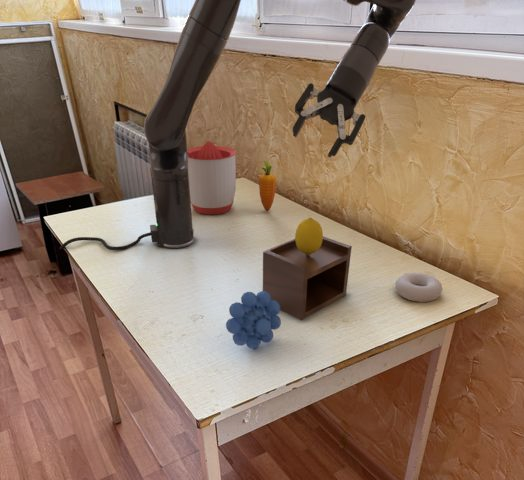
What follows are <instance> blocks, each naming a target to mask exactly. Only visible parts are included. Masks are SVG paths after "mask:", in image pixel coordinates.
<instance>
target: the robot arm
mask: <svg viewBox="0 0 524 480" xmlns="http://www.w3.org/2000/svg"><path fill="white" fill-rule="evenodd" d="M342 1H343V2H345V3H347V4H348V5H351V6H353V7H358V6H360V5H361V4H363V3H369V4H372V7H371V9H370V11H369V13H368V15H367V17H366V18H365V20H364V23H363V25H362V26H361V28H360V29H359V30H358V32H357V33H356V35H355V36H354V38H353V39H352V42H351V44H350V45H349V47H348V48H347V50H346V51H345V52H344V54H343V55H342V57H341V58H340V60H339V62H338V64H337V66H336V67H335V69H334V71H333V73H332V74H331V76H330V77H329V78H328V79H329V80H328V81H327V83H326V84H325V86H324V88H323V89H322V90H318V88H317V89H316V88H315V85H314V84H313V83H312V82H310V83H308V85H307V86H306V88H305V89H304V91H303V92H302V93H301V95H300V97H299V99H298V100H297V101H296V103H295V105H294V113H295V114H296V115H297V116H298V118H297V119H296V121H295V123H294V125H292V136H293V137H294V138H297V137H298V135H299V134H300V131H301V130H302V128H303V127H304V125H305V123H306V121H307V120H309V119H313V118H316V117H318V116H319V118H320V119H321V120H322V121H326V122H327V123H328V124H329V125H331V126H336V132H337V138H336V140H335V141H334V143H333V145H332V146H331V148H330V150H329V152H328V154H327V157H328V158H329V159H330V158H332V157H335V156H336V155H337V154H338V152H339V150H340V148H341V147H342V146H343V145H344V144H346V145H348V146H352V145H353V144H354V142H355V140H356V138H357V136H358V134H359V132H360V130H361V128H362V127H363V125H364V122H365V120H366V114H365V113H364V114H363V113H361V114H359V113H357V112H356V111H355V108H356V107H357V105H358V103H359V102H360V99H362V96H363V95H364V93H365V91H366V89H367V88H368V87H369V85H370V84H371V81H372V79H373V78H374V75H375V73H376V70H377V68H378V66H379V64H380V63H381V61H382V60H383V57H384V56H385V54H386V52H387V50H388V49H389V46H390V42H391V40H392V38H393V37H394V35H395V34H396V32H397V31H398V30H399V28H400V26H401V24H402V23H403V22H404V20H405V19H406V18H407V17H408V15H409V14H410V12H411V11H412V9H413V8H414V6H415V3H416V2H417V0H342ZM241 2H242V0H194V3H193V5H192V7H191V9H190V11H189V13H188V15H187V19H186V20H185V23H184V25H183V28H182V30H181V32H180V35H179V38H178V41H177V44H176V47H175V50H174V53H173V57H172V60H171V63H170V67H169V71H168V74H167V78H166V80H165V82H164V85H163V87H162V90H161V91H160V93H159V94H158V97H157V99H156V101H155V103H154V104H153V106H152V107H151V108H150V109H149V111H148V112H147V114H146V116H145V119H144V122H143V133H144V136H145V139H146V140H147V143H148V150H149V172H150V179H151V185H152V186H151V187H152V194H153V196H152V197H153V203H154V213H155V221H156V223H155V224H150V225H149V229H150V231H149V232H147V233H142V234H141V235H139V236H138V237H137V238H136V240H134V241H133V242H131V243H129V244H126V245H121V246H112V245H109V244H107V242H106V241H105V239H103V238H101V237H92V236H78V237H73V238H70V239H68V240H67V241H65V242H63V243H62V244H61V246H60V247H59V250H63V249H65V248H66V247H67V246H68V245H71V244H72V243H74V242H75V243H76V242H80V241H92V242H100V243H102V245H103V247H105V249H108V250H112V251H122V250H126V249H129V248H131V247H134V246H136V245H138V244H139V243H140V242H141V240H142V239H145V238H146V237H147V238H148V237H150V238H151V243H158V245H159V248H168V249H183V248H186V247H188V246H189V247H190V246H191V245H193V243H194V242H195V237H194V227H193V226H194V225H193V214H192V204H191V199H190V186H189V174H188V154H187V149H188V142H187V141H188V140H187V126H188V122H189V120H190V116H191V114H192V111H193V108H194V106H195V104H196V102H197V100H198V98H199V96H200V93H202V90H203V88H204V87H205V85H206V84H207V82H208V81H209V79H210V77H211V75H212V73H213V71H214V70H215V68H216V67H217V64H218V62H219V60H220V59H221V56H222V54H223V52H224V50H225V48H226V46H227V43H228V41H229V39H230V37H231V34H232V31H233V28H234V25H235V22H236V20H237V15H238V12H239V9H240V5H241ZM314 98H316V102H317V103H314V104H312V105H311V106H310V107H308V108H305V109H304V107H305V106H306V105H307V102H308V101H309V100H313V99H314ZM350 119H352V120H353V121H352V125H353V126H354V127H353V129H352V131H351V133H350V135H348V134H346V121H349V120H350Z"/></svg>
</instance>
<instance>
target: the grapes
mask: <svg viewBox="0 0 524 480" xmlns="http://www.w3.org/2000/svg"><path fill="white" fill-rule="evenodd" d="M240 301H241V302H237V301H235V302H234V303H232V304H231V305H230V306H229V308H228V310H229V311H228V313H229V315H230V316H231V318H228V319H227V321H226V323H225V328H226V330H227V332H228V333H230V334H232V340H233V342H234V344H235V345H237V346H240V347H241V346H245V345H246V346H247V347H248V348H250V349H252V350H253V349H258V348H259V347H260V345H261V343H269V342H272V341H273V339H274V332H273V331H276V330H278V329H279V328H281V325H282V319H281V317H280V316H278V315H279V314H280V312H281V310H280V305H279V303H278V302H277V301H274V300H271V296H270V294H269V293H268V292H266V291H263V290H262V291H259V292H257V294H256V293H254V292H252V291H246V292H244V293H243V294H242V295H241V297H240Z"/></svg>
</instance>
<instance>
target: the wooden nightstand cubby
mask: <svg viewBox="0 0 524 480" xmlns="http://www.w3.org/2000/svg"><path fill="white" fill-rule="evenodd" d="M351 255H352V245H350V244H346V243H344V242H342V241H338V240H335V239H332V238H329V237H326V236H324V235H323V240H322V244H321V246H320V248H319V249H318V250H317V251H316V252H314V253H311V254H310V255H309V256H307V255H306V254H305V253H303V252H301V251H300V250H299V249H298V248H297V245H296V241H295V238H293V239H290V240H289V241H286V242H283V243H281V244H278V245H275V246H273V247H270V248H269V249H265V250H264V251H262V291H266V292H268V293H269V294H270V296H271V300H274V301H277V302H278V303H279V305H280V312H283V313H285V314H287V315H289V316H291V317H294V318H295V319H298V320H300V321H303V320H305V319H306V318H308V317H310V316H311V315H313V314H315V313H317V312H319V311H320V310H322V309H324V308H326V307H328V306H329V305H331V304H334V303H335V302H337V301H338V300H340V299H342V298H344V297H346V296H347V289H348V280H349V273H350V263H351V257H352V256H351Z"/></svg>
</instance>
